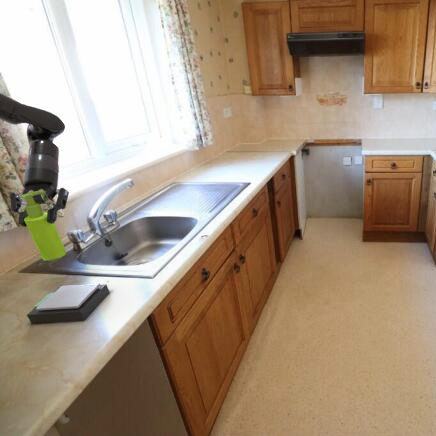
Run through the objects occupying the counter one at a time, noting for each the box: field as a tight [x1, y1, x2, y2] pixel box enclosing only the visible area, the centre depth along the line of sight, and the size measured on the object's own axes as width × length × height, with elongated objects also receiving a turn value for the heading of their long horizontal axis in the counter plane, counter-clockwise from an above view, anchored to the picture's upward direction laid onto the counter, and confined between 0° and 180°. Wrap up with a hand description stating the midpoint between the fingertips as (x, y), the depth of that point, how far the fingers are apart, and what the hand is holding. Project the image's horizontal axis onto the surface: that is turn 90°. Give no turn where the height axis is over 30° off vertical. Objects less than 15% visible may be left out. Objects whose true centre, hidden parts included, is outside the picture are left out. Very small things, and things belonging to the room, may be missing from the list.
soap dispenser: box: [20, 191, 67, 262], centre depth 94 cm, size 6×7×20 cm
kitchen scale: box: [26, 283, 110, 324], centre depth 91 cm, size 14×12×4 cm
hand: (37, 224), depth 92 cm, fingers closed on soap dispenser, 6 cm apart
